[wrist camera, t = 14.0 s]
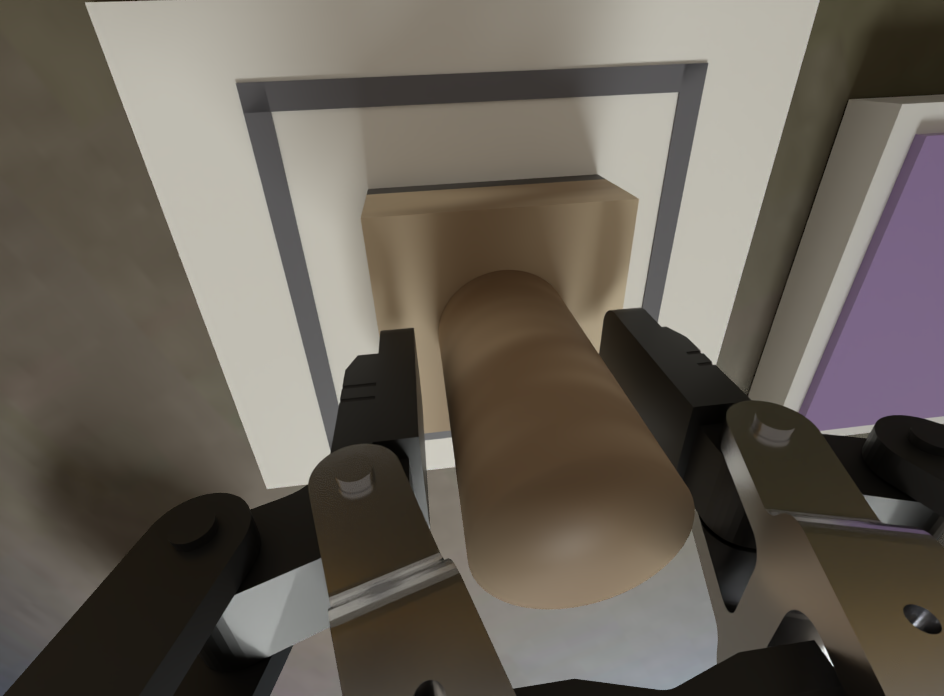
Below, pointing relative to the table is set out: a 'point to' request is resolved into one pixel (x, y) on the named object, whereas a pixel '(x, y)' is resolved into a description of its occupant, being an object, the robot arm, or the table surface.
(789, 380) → the ink pad
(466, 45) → the sheet
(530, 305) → the stamp
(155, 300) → the table surface
